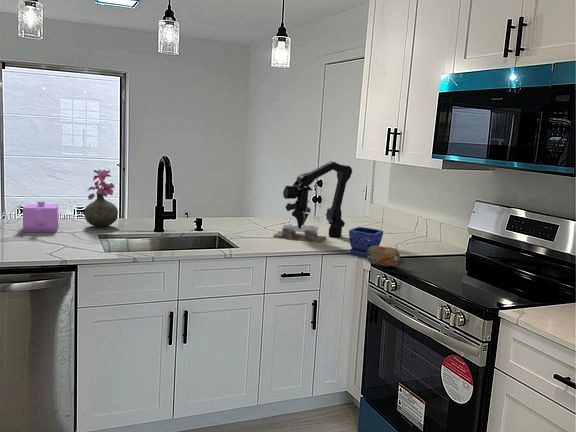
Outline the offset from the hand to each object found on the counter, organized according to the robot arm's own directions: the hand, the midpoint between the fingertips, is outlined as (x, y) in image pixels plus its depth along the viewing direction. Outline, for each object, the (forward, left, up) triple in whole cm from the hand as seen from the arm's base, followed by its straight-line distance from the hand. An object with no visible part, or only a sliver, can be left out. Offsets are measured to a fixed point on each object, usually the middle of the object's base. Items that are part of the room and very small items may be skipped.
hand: (300, 227), depth 287 cm
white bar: (0, 0, -2) cm, 2 cm away
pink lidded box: (+121, +51, -6) cm, 131 cm away
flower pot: (-37, +21, -6) cm, 43 cm away
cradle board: (0, 0, -6) cm, 6 cm away
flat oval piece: (-47, +38, -6) cm, 61 cm away
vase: (+101, +30, -6) cm, 106 cm away
